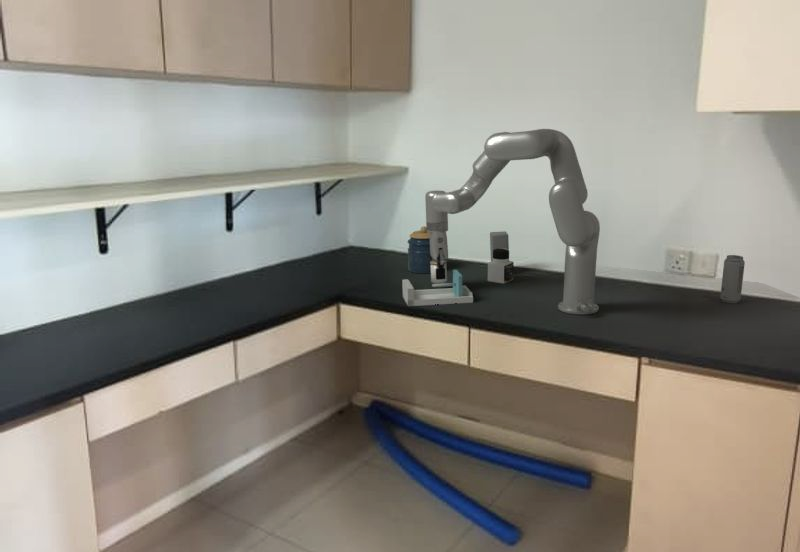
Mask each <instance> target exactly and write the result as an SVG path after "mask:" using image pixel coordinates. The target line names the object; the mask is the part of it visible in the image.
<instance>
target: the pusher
mask: <svg viewBox="0 0 800 552" xmlns="http://www.w3.org/2000/svg"><path fill="white" fill-rule="evenodd" d="M431 286H432V287H433V288H435V287H436V288H437V287H439V288H440V287H452V288H453V293H454V294H455V295H456V297H462V288H463V275H462V273H460V272H459V270H458V269H452V282H444V283H432V284H431Z"/></svg>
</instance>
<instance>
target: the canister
mask: <svg viewBox="0 0 800 552" xmlns="http://www.w3.org/2000/svg"><path fill="white" fill-rule="evenodd" d="M429 235H430V232H427V228H426V226H424V225H423V226H421V227H420V230H416V231H413V232H412V233H411V234H409V237H410V238H409V239H408V240H407V243H408V248H407V257H408V258H407V259H408V263H407V268H408V269H407V270H408V271H409V272H411V273H414V274H431V264H430V261H432V256H431V255H430V236H429ZM438 259H439V258H438Z"/></svg>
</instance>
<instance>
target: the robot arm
mask: <svg viewBox="0 0 800 552" xmlns="http://www.w3.org/2000/svg"><path fill="white" fill-rule="evenodd" d="M483 146H484V147H483V148H484V149H483V150H484V151H482V153H481V154H480V155H479V156H478V157H477V159H476V160H474V162H473V163H472V173H471V176H469V178H468V179H467V181H465V183H464V184H463V186H461V187H460V188H459V189H456V190H453V191H448V192H446V191H444V190H430V191H427V192H426V193H425V198H424V199H425V201H424V202H425V222H426V223H425V224H426V226H425V227H426V228H427V232H430V235H429V236H430V255H431V256H432V260H436V267H437V268H436V279H437V280H440V279H445V263H444V260H446V261H448V259H449V249H448V248H449V247H448V246H449V245H448V236H447V232H448V231H449V215H457V214H459V213H462V212H464V211H468V210H470V209H471V208H473V207H474V205H475V204H476V203H477V202H478V201H479V200H480V199H481V198H482V197H483V196H484V195H485V194H486V192H487V190H488V189H489V187H490V186H491V184H492V183H493V181H494V179H495V178H496V177H498V175H499V174H500V173H501V172H502V170H503V169H504V168H505V167H507V165H508V164H509V163H510V162H511V161H521V160H535V159H539V158H543V157H547V158H548V159H549V163H550V170H551V173H552V177H553V179H554V181H553V182H554V184H553V185H552V186H551V188H550V190H549V193H548V203H549V208H550V211H551V215H552V218H553V221H554V224H555V228H556V232H557V234H558V237H559V239H560V240H561V241H562V243H563V244H565V246H566V248H565V255H564V256H565V257H564V272H563V273H564V274H563V276H564V277H563V298H562V300H563V301H560V302H559V303H558V305H557V309H558V310H560V311H561V312H563V313H565V314H570V315H592V314H595V313H598V312H599V311H600V310H599V305H598V304H597V303H595V287H596V268H597V254H598V244H599V238H600V232H601V231H600V230H601V229H600V227H601V226H600V221H599V219H598V217H597V215H595V213H593V212H592V211H589V210H585V209H584V204H585V203H586V201H587V198H588V196H589V195H588V188H587V185H586V182H585V178H584V176H583V171H582V169H581V166H580V163H579V160H578V159H579V158H578V156H577V152H576V149H575V147H574V144H573V142H572V140H571V139H570V138H569V137H568V135H566V134H565V133H564V132H561V131H559V130H556V129H550V128H540V129H532V130H525V131H523V130H522V131H516V132H514V131H513V132H509V131H508V132H507V131H502V132H496V133H493V134H491V135H490V136H489V137H487V139H486V140H485V142H484V145H483ZM448 214H449V215H448ZM438 258H439V259H438ZM438 261H440V262H439V264H438Z"/></svg>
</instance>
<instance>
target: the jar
mask: <svg viewBox="0 0 800 552" xmlns="http://www.w3.org/2000/svg"><path fill="white" fill-rule="evenodd" d="M447 261H448V260H446V259H444V263H445V279H440V280H437V279H436V268H437V267H436V260H432V261H430V264H431V273H430V281H431V283H432V284H442V283H448V282H447V281H448V275H447V274H448V271H447V264H448V263H447ZM439 262H440V261H438V264H439Z"/></svg>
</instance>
